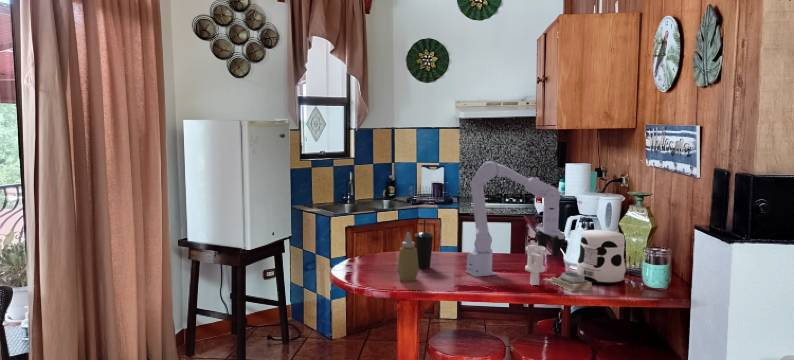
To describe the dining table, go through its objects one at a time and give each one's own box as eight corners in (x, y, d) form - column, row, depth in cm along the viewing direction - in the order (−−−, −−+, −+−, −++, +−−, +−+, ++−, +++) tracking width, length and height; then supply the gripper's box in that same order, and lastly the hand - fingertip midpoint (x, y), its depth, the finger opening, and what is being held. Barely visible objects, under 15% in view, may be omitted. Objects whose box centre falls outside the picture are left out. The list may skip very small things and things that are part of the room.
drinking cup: (411, 268, 226) (412, 219, 224) (418, 264, 233) (418, 216, 231) (429, 270, 223) (430, 221, 221) (435, 266, 230) (436, 218, 228)
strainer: (520, 283, 207) (521, 243, 205) (534, 280, 210) (536, 241, 208) (533, 288, 201) (535, 247, 199) (548, 285, 204) (550, 245, 202)
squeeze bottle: (403, 283, 205) (404, 235, 203) (393, 278, 212) (393, 231, 210) (422, 281, 208) (423, 233, 206) (412, 275, 215) (412, 229, 214)
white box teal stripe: (572, 287, 199) (573, 277, 198) (560, 282, 205) (560, 272, 205) (584, 286, 200) (584, 276, 200) (571, 280, 207) (571, 271, 206)
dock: (571, 294, 197) (571, 285, 196) (541, 281, 212) (541, 272, 212) (591, 291, 200) (592, 282, 200) (560, 278, 216) (561, 270, 215)
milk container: (620, 275, 218) (622, 230, 216) (629, 288, 201) (631, 239, 199) (574, 273, 221) (575, 228, 220) (578, 285, 205) (581, 237, 203)
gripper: (571, 221, 207) (570, 257, 208) (547, 215, 220) (546, 248, 222) (556, 222, 204) (554, 258, 206) (532, 216, 218) (531, 250, 219)
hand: (549, 253), depth 213 cm, fingers open, 7 cm apart
